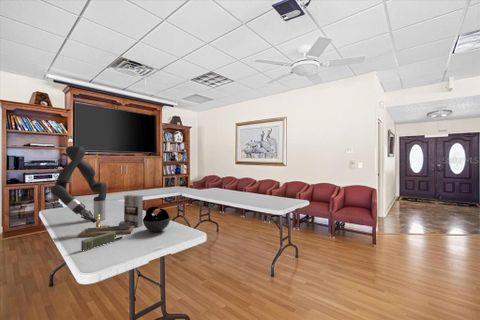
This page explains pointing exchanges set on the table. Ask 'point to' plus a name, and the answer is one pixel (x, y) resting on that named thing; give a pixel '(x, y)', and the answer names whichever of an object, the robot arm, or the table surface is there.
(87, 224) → the table surface
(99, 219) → the brass bolt
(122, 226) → the steel keeper
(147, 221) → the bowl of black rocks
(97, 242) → the handheld radio
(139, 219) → the cassette tape recorder
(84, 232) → the wooden track base
